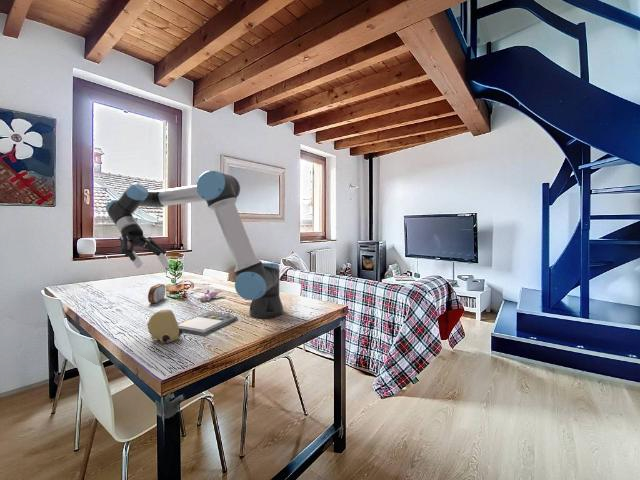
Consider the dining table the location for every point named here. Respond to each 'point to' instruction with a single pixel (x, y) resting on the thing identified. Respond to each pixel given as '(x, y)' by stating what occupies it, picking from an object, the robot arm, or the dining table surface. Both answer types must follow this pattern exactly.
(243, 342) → the dining table surface
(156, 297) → the tin
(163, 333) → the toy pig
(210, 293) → the rabbit figure
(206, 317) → the breaker panel
